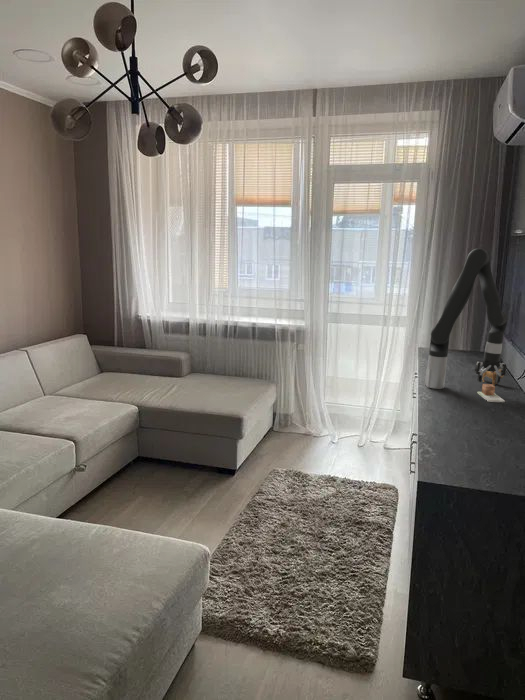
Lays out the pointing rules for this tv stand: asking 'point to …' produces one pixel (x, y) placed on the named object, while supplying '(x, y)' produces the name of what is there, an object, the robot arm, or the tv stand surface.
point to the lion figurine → (491, 376)
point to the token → (488, 389)
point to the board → (491, 397)
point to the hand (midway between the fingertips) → (488, 382)
